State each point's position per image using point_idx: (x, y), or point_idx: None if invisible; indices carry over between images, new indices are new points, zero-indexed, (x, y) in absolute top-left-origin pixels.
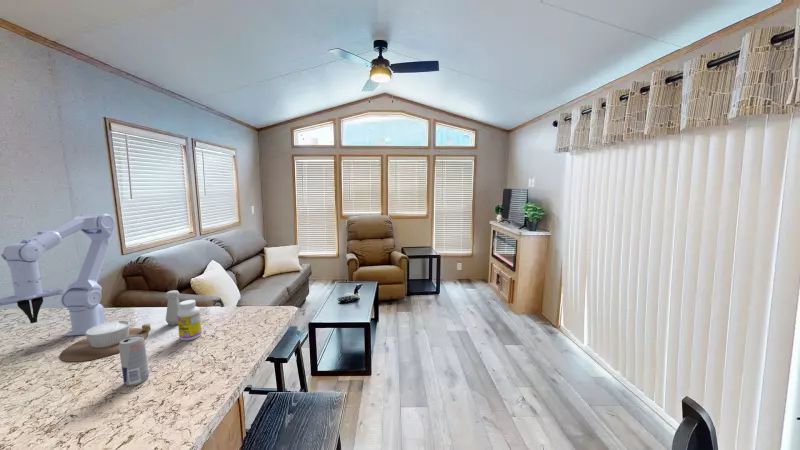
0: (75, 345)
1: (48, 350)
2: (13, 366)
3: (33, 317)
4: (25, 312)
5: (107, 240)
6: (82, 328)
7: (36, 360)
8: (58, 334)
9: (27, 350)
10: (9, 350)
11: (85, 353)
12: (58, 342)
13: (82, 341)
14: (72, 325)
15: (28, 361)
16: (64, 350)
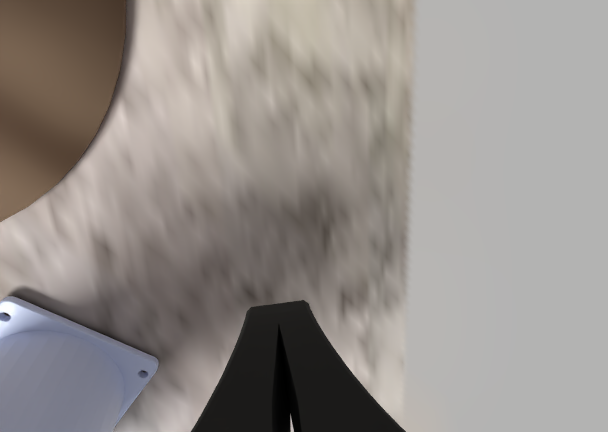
0: (50, 109)
1: (220, 179)
2: (382, 34)
3: (276, 345)
4: (388, 425)
5: None
6: (39, 356)
7: (269, 29)
8: (201, 412)
9: (323, 273)
10: (394, 337)
11: None
12: (183, 284)
13: (17, 163)
14: (93, 408)
15: (311, 56)
16: (109, 58)
